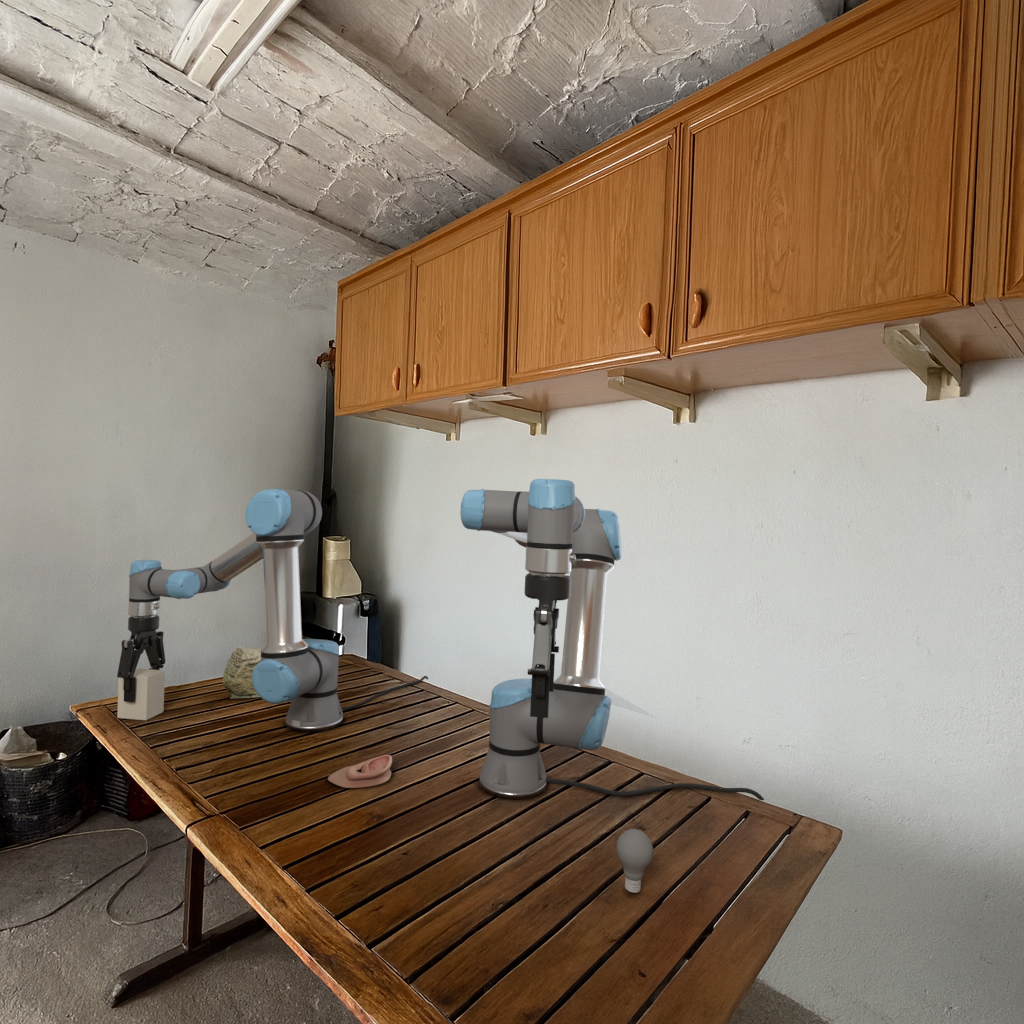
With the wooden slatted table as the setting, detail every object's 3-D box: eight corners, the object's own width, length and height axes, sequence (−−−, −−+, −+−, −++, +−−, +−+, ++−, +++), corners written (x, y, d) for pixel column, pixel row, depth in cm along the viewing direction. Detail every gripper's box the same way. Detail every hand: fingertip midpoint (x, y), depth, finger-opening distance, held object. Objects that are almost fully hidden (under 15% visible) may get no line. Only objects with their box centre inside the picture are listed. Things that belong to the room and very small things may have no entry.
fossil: (218, 695, 195) (220, 647, 195) (278, 685, 208) (279, 640, 207) (228, 703, 189) (230, 653, 188) (289, 692, 201) (290, 645, 201)
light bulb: (610, 879, 108) (613, 822, 108) (644, 879, 109) (647, 822, 109) (619, 902, 102) (622, 840, 102) (655, 901, 103) (658, 840, 103)
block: (117, 717, 174) (118, 675, 173) (135, 709, 181) (137, 668, 181) (145, 720, 173) (147, 677, 172) (163, 711, 180) (165, 670, 180)
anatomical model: (321, 766, 139) (345, 747, 150) (320, 784, 139) (344, 763, 150) (378, 774, 136) (398, 753, 147) (377, 792, 136) (397, 770, 148)
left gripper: (128, 623, 165) (125, 709, 166) (181, 610, 186) (178, 686, 187) (102, 621, 166) (99, 707, 166) (157, 608, 187) (155, 684, 188)
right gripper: (568, 584, 91) (561, 731, 91) (573, 567, 115) (568, 683, 116) (516, 581, 91) (510, 727, 92) (532, 565, 116) (527, 679, 117)
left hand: (141, 696), depth 177 cm, fingers open, 9 cm apart
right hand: (542, 703), depth 104 cm, fingers open, 13 cm apart
